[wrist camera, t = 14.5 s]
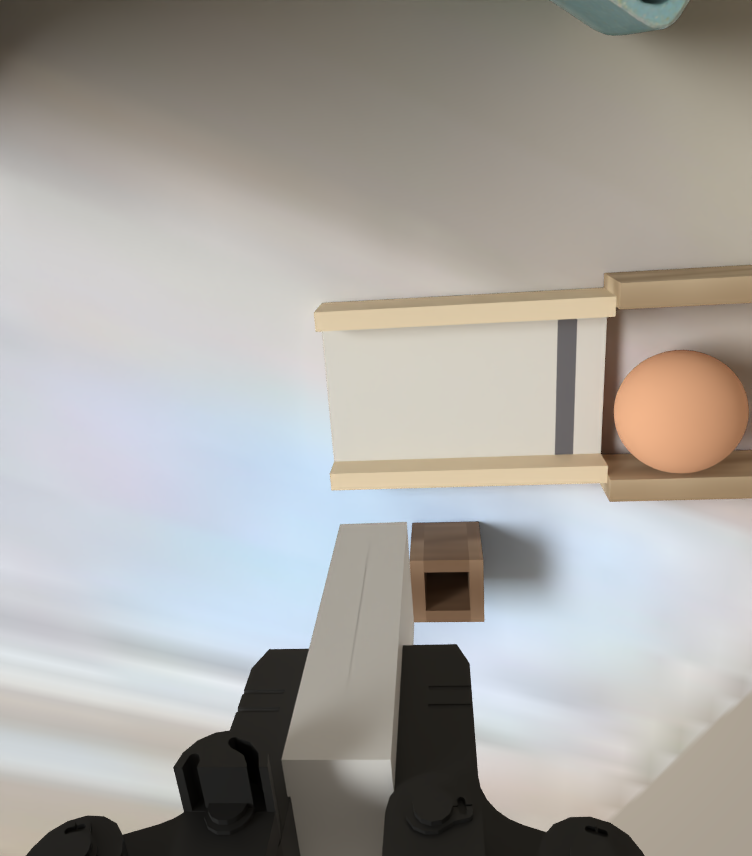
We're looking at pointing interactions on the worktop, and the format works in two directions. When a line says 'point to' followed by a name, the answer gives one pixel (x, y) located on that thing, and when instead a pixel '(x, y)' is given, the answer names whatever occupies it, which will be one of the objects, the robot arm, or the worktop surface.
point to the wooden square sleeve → (447, 572)
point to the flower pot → (624, 14)
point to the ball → (681, 411)
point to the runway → (467, 389)
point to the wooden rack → (671, 289)
